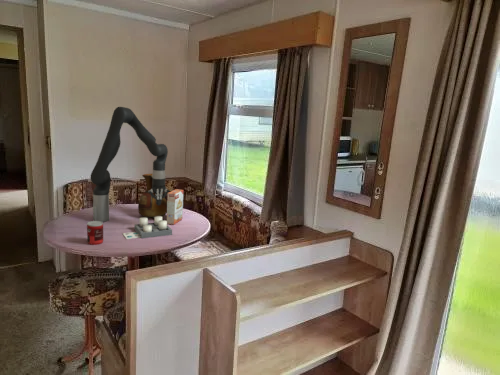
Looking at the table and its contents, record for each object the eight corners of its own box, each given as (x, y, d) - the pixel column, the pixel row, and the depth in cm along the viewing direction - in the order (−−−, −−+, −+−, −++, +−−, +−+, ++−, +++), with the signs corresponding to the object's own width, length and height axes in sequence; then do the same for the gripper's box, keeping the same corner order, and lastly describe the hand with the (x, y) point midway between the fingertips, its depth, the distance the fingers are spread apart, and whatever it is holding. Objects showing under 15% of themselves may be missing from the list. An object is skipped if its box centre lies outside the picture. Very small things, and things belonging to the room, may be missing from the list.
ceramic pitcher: (154, 210, 257) (155, 170, 251) (173, 216, 246) (174, 174, 240) (132, 215, 241) (132, 172, 235) (151, 222, 230) (151, 177, 224)
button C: (144, 235, 203) (144, 227, 202) (142, 232, 207) (142, 225, 206) (152, 234, 206) (152, 226, 205) (150, 231, 210) (150, 224, 209)
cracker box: (174, 225, 228) (175, 193, 224) (166, 224, 229) (166, 192, 225) (183, 219, 242) (184, 189, 237) (174, 218, 243) (175, 188, 238)
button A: (140, 227, 210) (140, 219, 209) (138, 224, 214) (138, 217, 213) (148, 226, 213) (148, 219, 212) (146, 224, 217) (146, 217, 216)
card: (126, 239, 198) (126, 238, 198) (123, 234, 206) (123, 233, 205) (142, 237, 203) (142, 236, 203) (138, 232, 210) (138, 231, 210)
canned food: (90, 239, 194) (89, 220, 191) (105, 240, 194) (105, 221, 192) (85, 244, 186) (84, 224, 184) (100, 245, 187) (100, 225, 185)
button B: (155, 225, 215) (155, 218, 214) (153, 223, 219) (153, 216, 218) (163, 225, 217) (163, 217, 216) (160, 222, 221) (161, 215, 220)
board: (141, 238, 201) (141, 233, 200) (134, 229, 215) (134, 224, 214) (172, 234, 210) (172, 229, 210) (163, 226, 224) (163, 221, 224)
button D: (159, 230, 207) (160, 222, 206) (157, 227, 211) (157, 220, 210) (167, 229, 210) (168, 222, 209) (165, 227, 214) (165, 219, 213)
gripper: (167, 175, 219) (167, 202, 222) (146, 176, 212) (146, 204, 215) (171, 178, 212) (171, 205, 216) (149, 178, 206) (149, 207, 209)
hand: (158, 205), depth 216 cm, fingers closed
